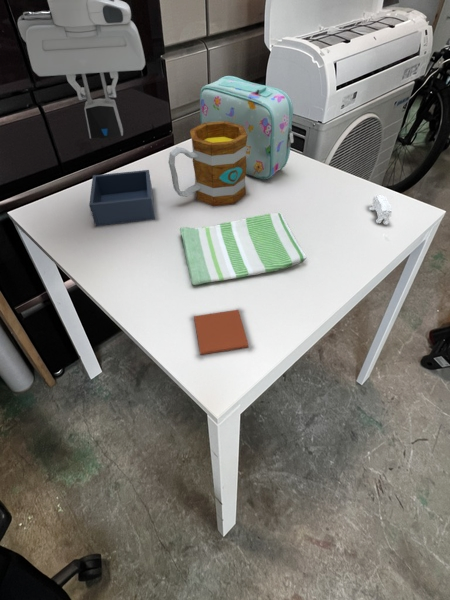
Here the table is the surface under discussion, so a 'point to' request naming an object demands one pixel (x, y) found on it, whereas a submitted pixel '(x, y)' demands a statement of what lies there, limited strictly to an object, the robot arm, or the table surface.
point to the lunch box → (253, 120)
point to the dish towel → (240, 248)
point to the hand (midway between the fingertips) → (98, 97)
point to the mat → (220, 332)
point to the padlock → (102, 114)
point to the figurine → (381, 209)
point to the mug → (215, 163)
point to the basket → (122, 198)
